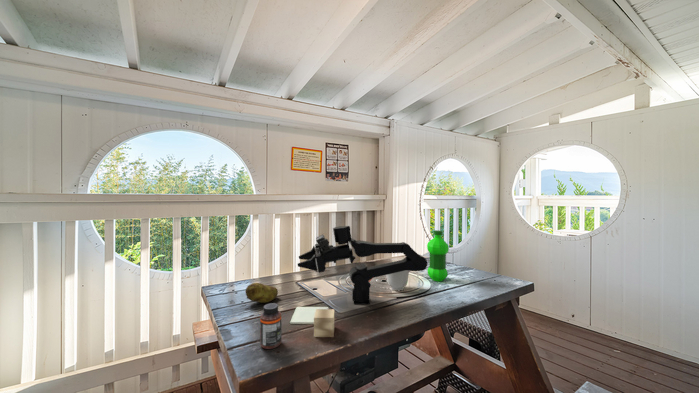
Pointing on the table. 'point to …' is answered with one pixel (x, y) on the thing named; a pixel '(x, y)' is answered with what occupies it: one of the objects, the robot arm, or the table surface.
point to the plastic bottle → (437, 257)
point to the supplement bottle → (270, 326)
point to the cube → (324, 323)
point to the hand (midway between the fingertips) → (298, 261)
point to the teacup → (398, 280)
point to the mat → (304, 315)
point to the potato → (261, 292)
